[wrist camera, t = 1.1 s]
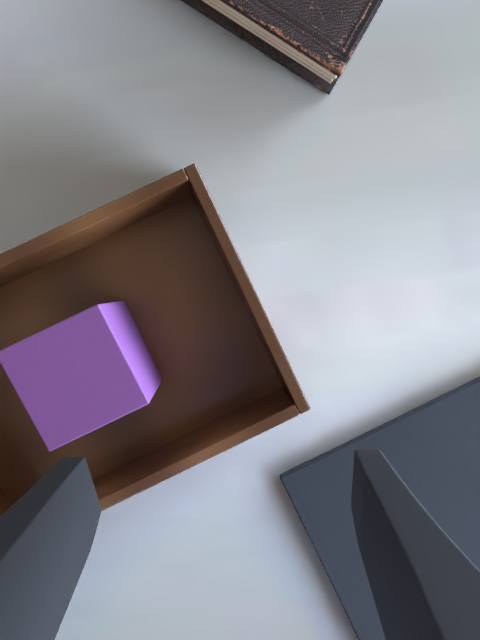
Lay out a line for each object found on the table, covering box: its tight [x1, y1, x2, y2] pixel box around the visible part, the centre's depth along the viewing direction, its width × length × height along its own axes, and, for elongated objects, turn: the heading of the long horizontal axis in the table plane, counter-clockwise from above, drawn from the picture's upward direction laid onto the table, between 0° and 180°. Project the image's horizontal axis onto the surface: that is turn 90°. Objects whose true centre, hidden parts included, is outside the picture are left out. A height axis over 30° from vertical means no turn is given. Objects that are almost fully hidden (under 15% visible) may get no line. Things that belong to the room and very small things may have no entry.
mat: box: [280, 377, 480, 640], centre depth 25 cm, size 20×14×1 cm
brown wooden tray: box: [0, 164, 310, 517], centre depth 21 cm, size 18×13×4 cm
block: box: [0, 301, 163, 451], centre depth 20 cm, size 5×5×5 cm
